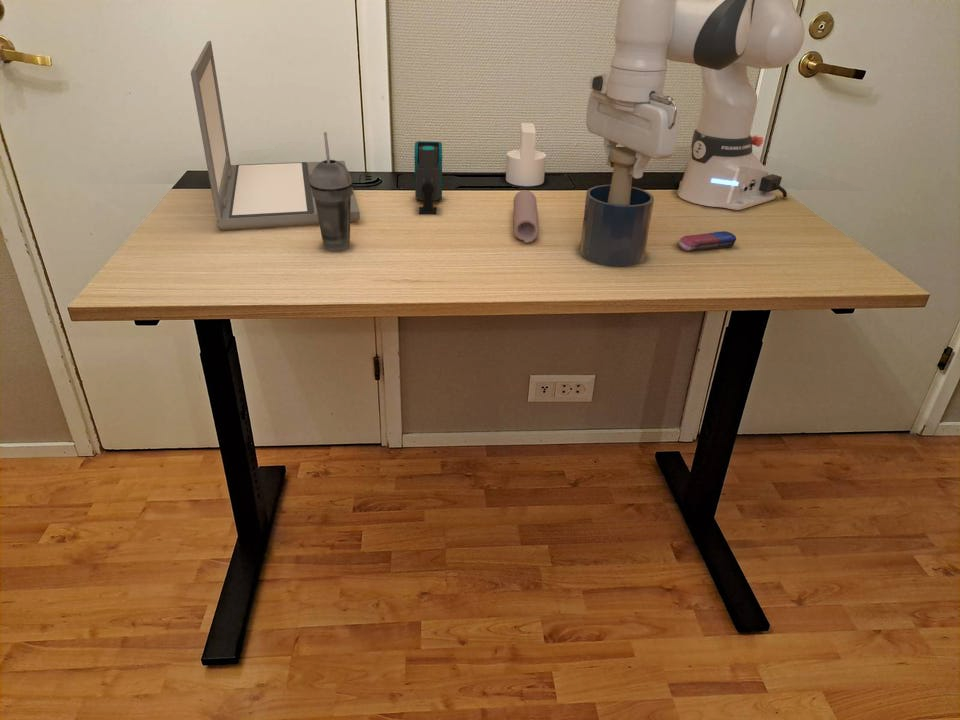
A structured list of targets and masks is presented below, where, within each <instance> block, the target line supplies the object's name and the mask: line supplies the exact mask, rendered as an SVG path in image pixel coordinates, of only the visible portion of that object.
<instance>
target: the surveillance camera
mask: <svg viewBox="0 0 960 720" xmlns="http://www.w3.org/2000/svg"><path fill="white" fill-rule="evenodd" d="M413 154H414V194H415V199H416V200H419V201H423V205H422V206H419V208H418V209H419V210H418V215H437V211H438V207H436V206H434V204H433V201H439V200H441V199H443V142H442V141H426V140H425V141H423V140H420V141H419V140H418V141H415V142H414V153H413Z"/></svg>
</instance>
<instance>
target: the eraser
mask: <svg viewBox="0 0 960 720" xmlns="http://www.w3.org/2000/svg"><path fill="white" fill-rule="evenodd" d="M736 241H737V237H736V235H735V234H734V233H732V232H730V231H726V230H725V231H722V230H721V231H714V232H713V231H712V232H707V233H698V234H689V235H683V236H681V238H680V239H679V240H678V248H679V249H680V250H682V251H687V252H698V251H705V250H714V249H721V248H730V247H733V246H734V244H735V243H736Z"/></svg>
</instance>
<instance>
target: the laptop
mask: <svg viewBox="0 0 960 720" xmlns="http://www.w3.org/2000/svg"><path fill="white" fill-rule="evenodd" d="M216 69H217V68H216V63H215V58H214V50H213V44H212V40H208V41H206V44H205V45H204V47H203V49H202V50H201V52H200V54H199V56H198V57H197V60H196V61H195V63H194V65H193V67H192V69H191V70H190V77H191V84H192V89H193V95H194V100H195V105H196V111H197V119H198V122H199V123H198V124H199V128H200V133H201V140H202V145H203V151H204V156H205V163H206V167H207V173H208V179H209V184H210V185H209V186H210V190H211V195H212V201H213V207H214V213H215V217H216V226H217V228H218V229H220V230H222V231H233V230H251V229H252V230H253V229H266V228H269V229H270V228H284V227H285V228H286V227H301V226H317V225H318V226H320V225H319V219H318V214H317V209H316V203H315V198H314V196H313V193H312V189H311V187H310V183H311V174H312V172H313V170H314V168H315V167H316V166H317V165H318V164H319V163H320V162H321V161H297V162H296V161H295V162H294V161H293V162H272V163H271V162H270V163H248V164H247V163H245V164H231V156H230V152H229V143H228V139H227V133H226V126H225V119H224V114H223V107H222V101H221V93H220V88H219V83H218V76H217V70H216ZM337 161H338V162H340V163H342V164H343V165H344V166H345V167H346V168H347V165H346V162H345V160H337ZM355 195H356V194H355V192H354V188H353V187H352V194H351V206H350V224H353V223H357V222H358V221H360V219H361V213H360V208H359V204H358V201H357V198H356V196H355Z"/></svg>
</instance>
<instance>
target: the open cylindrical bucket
mask: <svg viewBox="0 0 960 720" xmlns="http://www.w3.org/2000/svg"><path fill="white" fill-rule="evenodd" d="M610 187H611V184H602V185H595V186H593V187H590V188H588V189H587V190H586V195H585V202H584V211H583V219H582V220H583V221H582V229H581V230H582V231H581V238H580V247H579V253H580V255H581V256H582V257H583V258H584V259H586V260H587V261H589V262H592V263H594V264H596V265H597V264H598V265H602V266H607V267H615V268H616V267H621V268H622V267H623V268H624V267H632V266H634V265H637V264H640V263H642V261H643V260H644V258H645V255H646V248H647V243H648V237H649V231H650V225H651V220H652V213H653V208H654V202H655V196H654V195H653V194H652V193H650V192H649V191H647V190H645V189H643V188H638V187H634V186H631V196H630V205H615V204H610V203H607V202H608V197H609V192H610Z"/></svg>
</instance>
